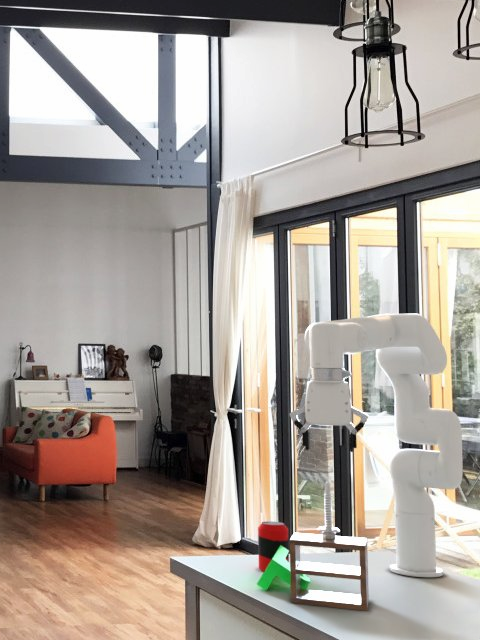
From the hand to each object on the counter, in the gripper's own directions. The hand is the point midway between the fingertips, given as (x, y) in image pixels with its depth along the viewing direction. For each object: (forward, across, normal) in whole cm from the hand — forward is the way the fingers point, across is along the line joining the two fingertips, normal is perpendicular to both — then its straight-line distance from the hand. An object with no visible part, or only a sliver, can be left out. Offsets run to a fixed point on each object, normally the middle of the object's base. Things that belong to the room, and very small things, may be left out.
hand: (329, 450), depth 234 cm
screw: (+20, +1, +1) cm, 20 cm away
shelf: (+34, +1, +2) cm, 34 cm away
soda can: (+34, +17, -28) cm, 48 cm away
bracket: (+34, +12, -14) cm, 39 cm away
